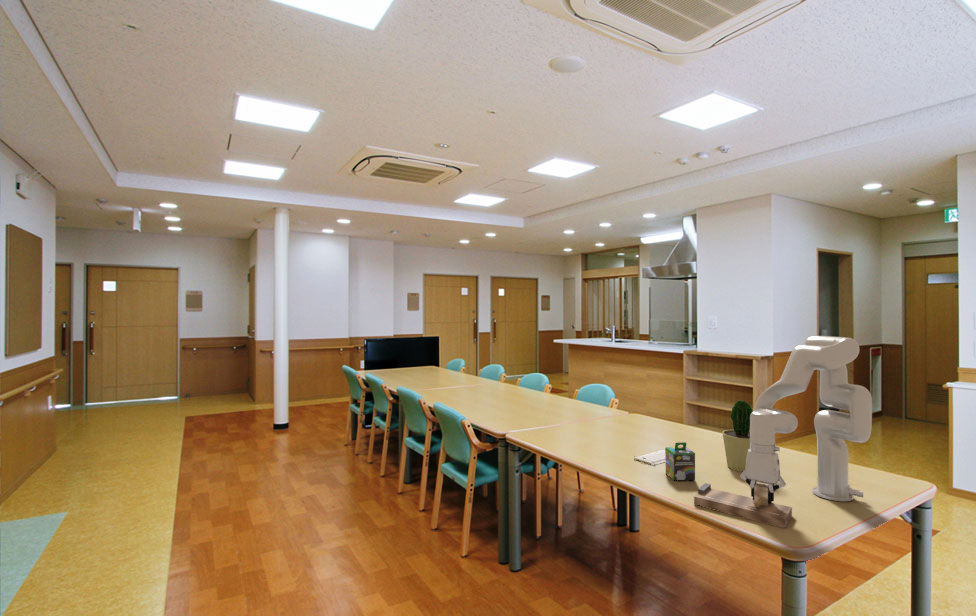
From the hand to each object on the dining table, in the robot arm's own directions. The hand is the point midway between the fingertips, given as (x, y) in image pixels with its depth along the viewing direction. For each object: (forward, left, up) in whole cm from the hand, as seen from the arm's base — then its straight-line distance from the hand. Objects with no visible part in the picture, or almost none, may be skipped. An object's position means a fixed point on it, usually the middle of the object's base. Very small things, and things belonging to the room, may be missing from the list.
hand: (762, 500), depth 168 cm
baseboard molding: (+49, -38, -5) cm, 62 cm away
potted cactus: (+18, -45, -4) cm, 49 cm away
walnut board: (+6, +4, -4) cm, 8 cm away
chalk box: (+34, -15, -4) cm, 37 cm away
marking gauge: (0, +3, -3) cm, 4 cm away
